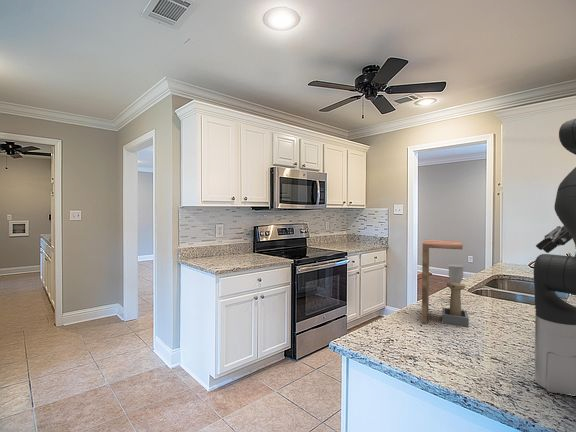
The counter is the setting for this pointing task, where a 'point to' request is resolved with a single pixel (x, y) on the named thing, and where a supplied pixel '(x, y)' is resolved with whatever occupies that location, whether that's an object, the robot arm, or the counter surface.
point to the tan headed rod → (455, 298)
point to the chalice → (456, 273)
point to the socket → (455, 318)
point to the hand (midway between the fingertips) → (541, 249)
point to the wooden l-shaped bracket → (425, 269)
